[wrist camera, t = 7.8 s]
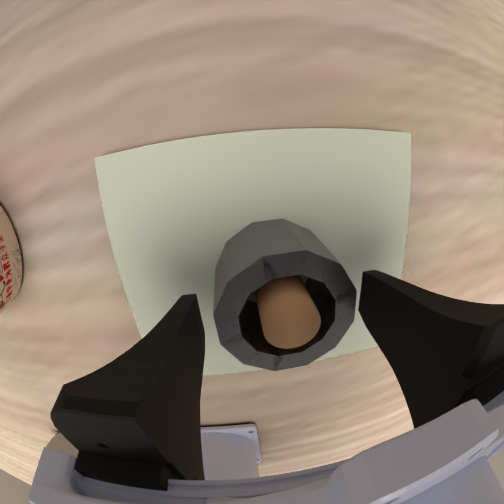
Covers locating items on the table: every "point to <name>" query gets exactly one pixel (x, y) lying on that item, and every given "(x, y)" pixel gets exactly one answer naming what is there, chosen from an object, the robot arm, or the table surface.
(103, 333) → the table surface
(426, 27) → the table surface
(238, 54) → the table surface
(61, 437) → the bent grey cylinder
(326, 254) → the collar
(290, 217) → the pegged green plate
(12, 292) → the teacup with lid
